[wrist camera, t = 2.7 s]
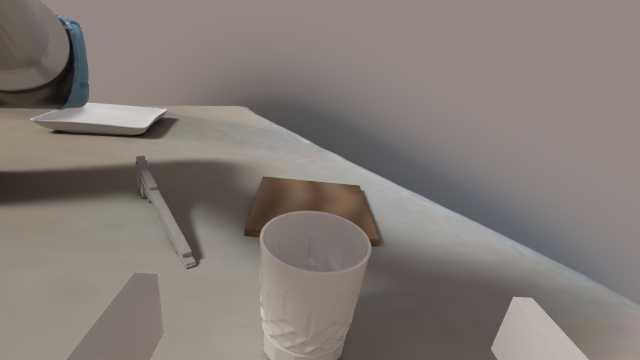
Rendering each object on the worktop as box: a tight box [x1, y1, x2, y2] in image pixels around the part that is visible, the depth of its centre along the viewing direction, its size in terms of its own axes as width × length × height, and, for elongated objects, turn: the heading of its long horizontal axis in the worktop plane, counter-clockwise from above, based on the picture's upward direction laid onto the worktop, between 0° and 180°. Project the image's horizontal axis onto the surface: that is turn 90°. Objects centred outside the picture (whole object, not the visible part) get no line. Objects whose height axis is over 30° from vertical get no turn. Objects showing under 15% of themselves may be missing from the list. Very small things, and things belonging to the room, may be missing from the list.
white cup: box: [260, 211, 371, 360], centre depth 24 cm, size 8×8×10 cm
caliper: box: [136, 156, 196, 269], centre depth 38 cm, size 20×1×6 cm, turn 40°
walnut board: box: [244, 177, 380, 246], centre depth 47 cm, size 17×17×1 cm
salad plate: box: [31, 103, 167, 135], centre depth 74 cm, size 21×21×3 cm
